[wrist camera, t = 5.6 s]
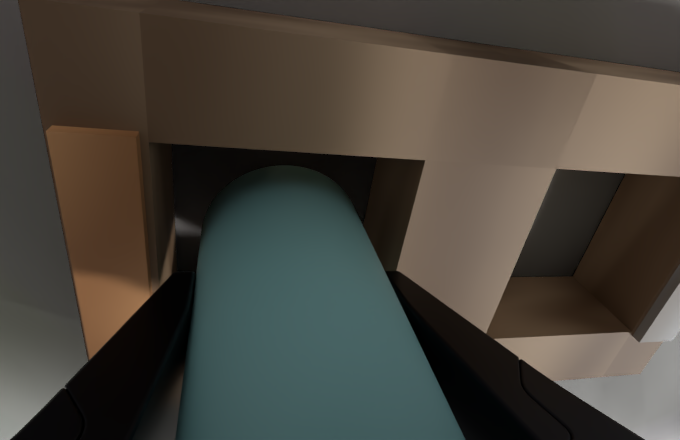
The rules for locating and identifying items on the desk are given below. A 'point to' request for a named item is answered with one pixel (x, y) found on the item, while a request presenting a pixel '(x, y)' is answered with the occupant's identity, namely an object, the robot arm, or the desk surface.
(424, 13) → the desk surface
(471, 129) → the socket block
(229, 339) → the teal rounded cylinder
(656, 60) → the desk surface
